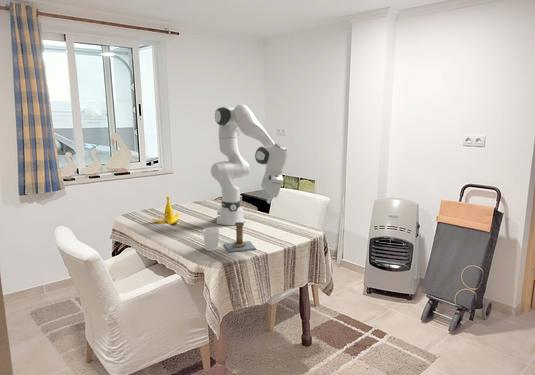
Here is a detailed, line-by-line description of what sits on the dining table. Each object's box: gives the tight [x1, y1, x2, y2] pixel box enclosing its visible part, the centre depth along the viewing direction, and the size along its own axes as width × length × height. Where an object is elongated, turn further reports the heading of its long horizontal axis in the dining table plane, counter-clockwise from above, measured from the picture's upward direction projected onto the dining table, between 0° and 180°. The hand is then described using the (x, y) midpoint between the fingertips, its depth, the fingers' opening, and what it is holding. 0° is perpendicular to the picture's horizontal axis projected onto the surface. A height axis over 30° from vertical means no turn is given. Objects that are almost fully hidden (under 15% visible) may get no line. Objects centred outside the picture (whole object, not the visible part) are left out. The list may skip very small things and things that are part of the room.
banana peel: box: [151, 195, 180, 225], centre depth 249 cm, size 17×19×17 cm
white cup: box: [202, 227, 220, 252], centre depth 199 cm, size 8×8×10 cm
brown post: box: [233, 222, 245, 248], centre depth 201 cm, size 6×6×12 cm
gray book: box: [223, 240, 257, 253], centre depth 202 cm, size 12×14×1 cm
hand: (266, 200), depth 207 cm, fingers open, 8 cm apart
